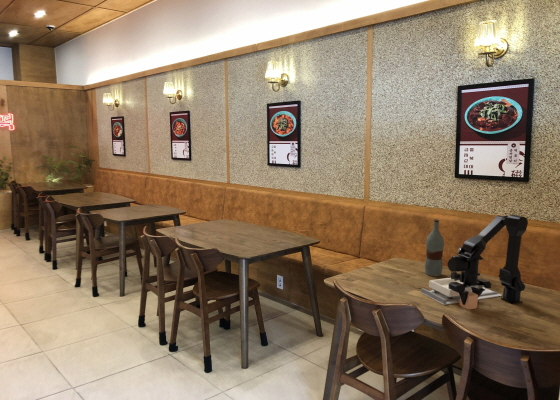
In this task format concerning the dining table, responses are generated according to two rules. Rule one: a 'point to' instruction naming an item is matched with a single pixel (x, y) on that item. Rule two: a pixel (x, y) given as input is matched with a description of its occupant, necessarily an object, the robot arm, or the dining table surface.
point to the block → (470, 301)
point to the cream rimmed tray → (445, 287)
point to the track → (456, 299)
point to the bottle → (434, 251)
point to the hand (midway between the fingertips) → (468, 303)
